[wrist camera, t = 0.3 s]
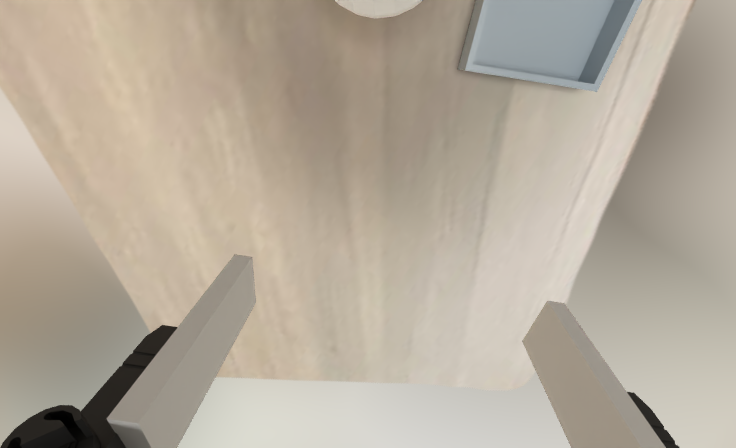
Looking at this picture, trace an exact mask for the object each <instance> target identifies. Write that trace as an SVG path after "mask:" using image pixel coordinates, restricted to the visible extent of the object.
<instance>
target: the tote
mask: <svg viewBox="0 0 736 448" xmlns="http://www.w3.org/2000/svg"><path fill="white" fill-rule="evenodd" d="M641 1H642V0H476V1H475V5H474V9H473V12H472V16H471V20H470V24H469V28H468V32H467V35H466V39H465V43H464V47H463V51H462V55H461V58H460V62H459V66H458V69H459V70H465V71H472V72H478V73H484V74H490V75H496V76H503V77H509V78H515V79H521V80H527V81H534V82H540V83H546V84H552V85H558V86H564V87H571V88H577V89H583V90H589V91H595V92H597V91H598V89H599V87H600V85H601V83H602V81H603V79H604V77H605V74H606V72H607V70H608V68H609V66H610V64H611V62H612V60H613V58H614V56H615V54H616V52H617V50H618V48H619V46H620V44H621V42H622V40H623V38H624V36H625V34H626V32H627V30H628V28H629V26H630V24H631V22H632V20H633V18H634V16H635V14H636V11H637V9H638V7H639V5H640V3H641Z"/></svg>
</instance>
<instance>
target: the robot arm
mask: <svg viewBox="0 0 736 448" xmlns="http://www.w3.org/2000/svg"><path fill="white" fill-rule="evenodd" d="M255 303H256V296H255V284H254V273H253V261H252V257H249V256H242V255H234V256H233V257H232V259H231V260H230V261H229V262H228V264H227V265H226V266H225V267H224V269H223V270H222V271H221V273H220V274H219V275H218V276H217V278H216V279H215V280H214V282H213V283H212V284H211V285H210V287H209V288H208V289H207V291H206V292H205V293H204V294H203V296H202V297H201V298H200V300H199V301H198V302H197V303H196V305H195V306H194V307H193V308H192V310H191V311H190V312H189V314H188V315H187V316H186V317H185V319H184V320H183V321H182V323H181V324H180V325H179V326H178V327H172V326H165V325H162V326H160V327H159V328H158V329H156V330H155V331H153V332H152V333H150V334H149V335H147V336H146V337H145V338H144V339H143V341H142V342H141V343H140V344H139V345H138V346H137V347H136V349H135V350H134V351H133V354H131V355H129V357H128V358H127V359H126V360H125V361H124V362H123V365H122V366H121V367H119V368H118V369H117V370H116V372H115V373H114V374H113V375H112V376H111V377H110V378H109V380H108V381H107V382H106V383H105V384H104V385H103V387H102V388H101V389H100V390H99V391H98V392H97V393H96V395H95V396H94V397H93V398H92V399H91V401H90V402H89V403H88V404H87V405H86V406H85V407H84V409H83V410H82V411H81V412H80V410H79V409H77V408H75V407H73V406H69V405H59V406H56V407H52V408H49V409H45V410H43V411H42V412H40V413H38V414H36V415H34V416H32V417H30V418H29V419H27V420H26V421H25V422H23V423H22V424H21V425H19V426H18V427H17V428H16V429H14V431H13V432H12V433H11V434H10V435H9V436H8V437H7V439H6V440H5V441H4V442H3V444H2V446H1V448H177V447H178V445H179V443H180V441H181V439H182V438H183V436H184V434H185V432H186V430H187V428H188V427H189V425H190V423H191V421H192V419H193V417H194V415H195V414H196V412H197V410H198V408H199V406H200V404H201V402H202V401H203V399H204V397H205V395H206V393H207V392H208V390H209V388H210V386H211V384H212V382H213V381H214V378H215V377H216V375H217V373H218V371H219V369H220V368H221V366H222V364H223V362H224V360H225V358H226V357H227V355H228V353H229V351H230V349H231V347H232V346H233V344H234V342H235V340H236V338H237V336H238V334H239V333H240V331H241V329H242V327H243V325H244V323H245V322H246V320H247V318H248V316H249V314H250V312H251V311H252V309H253V307H254V305H255ZM522 342H523V344H524V346H525V348H526V350H527V353H528V355H529V357H530V359H531V361H532V363H533V366H534V368H535V370H536V372H537V374H538V376H539V378H540V381H541V383H542V385H543V387H544V389H545V392H546V394H547V396H548V398H549V400H550V402H551V405H552V407H553V409H554V411H555V413H556V415H557V418H558V419H559V422H560V424H561V426H562V428H563V430H564V433H565V435H566V437H567V439H568V441H569V444H570V446H571V448H679V447H678V446H677V445H675V441H674V440H673V438H672V437H671V436H670V434H669V433H668V432H667V430H664V426H663V425H662V424H661V422H660V421H659V419H658V418H657V417H656V415H655V414H654V413H653V411H652V410H651V409H650V408H649V407H648V406H647V405H646V404H645V403H644V402H643V401H642V400H641V399H640V398H639V397H638V396H636V394H635V393H631V392H626V390H625V389H624V388H623V386H622V385H621V383H620V382H619V380H618V379H617V378H616V376H615V375H614V373H613V372H612V370H611V369H610V367H609V366H608V365H607V363H606V362H605V360H604V359H603V358H602V356H601V355H600V353H599V352H598V350H597V349H596V348H595V346H594V345H593V343H592V342H591V341H590V339H589V338H588V336H587V335H586V333H585V332H584V331H583V329H582V328H581V326H580V325H579V323H578V322H577V321H576V319H575V318H574V316H573V315H572V314H571V312H570V311H569V309H568V308H567V306H566V305H565V303H559V302H552V301H547V302H546V304H545V305H544V307H543V309H542V310H541V312H540V314H539V315H538V317H537V318H536V320H535V322H534V323H533V325H532V326H531V328H530V330H529V331H528V333H527V334H526V336H525V338H524V339H523V341H522Z"/></svg>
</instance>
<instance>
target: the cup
mask: <svg viewBox="0 0 736 448" xmlns="http://www.w3.org/2000/svg"><path fill="white" fill-rule="evenodd" d="M335 1H336V2H337V3H338V4H339V5H340V6H342V7H344V8H346V9H347V10H349V11H351V12H353V13H355V14H356V15H360V16H365V17H370V18H375V19H378V18H386V17H394V16H397V15H399V14H401V13H404V12H406V11H408V10H410V9H413V8H414V7H415V6H417V5H418V4H419V3H420V2H421V1H423V0H335Z"/></svg>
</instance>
